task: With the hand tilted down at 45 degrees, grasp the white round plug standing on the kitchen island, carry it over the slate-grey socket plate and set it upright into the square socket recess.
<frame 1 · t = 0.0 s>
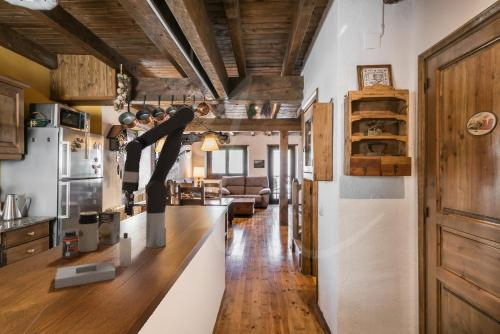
hand: (127, 214, 138), 17 cm above the kitchen island, tool pointing down, fingers open, 8 cm apart
travel mug: (87, 250, 137), on the kitchen island
plug: (125, 264, 117), on the kitchen island
supplement bottle: (70, 257, 127), on the kitchen island
socket: (86, 277, 103), on the kitchen island
coffee box: (109, 242, 152), on the kitchen island
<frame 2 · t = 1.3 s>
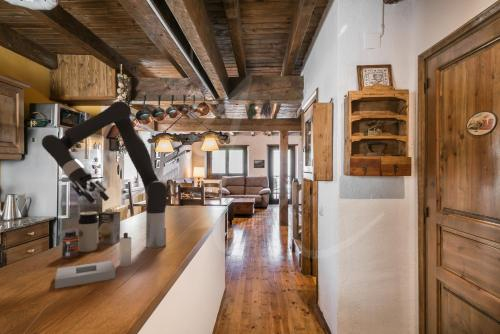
hand: (100, 200, 119), 26 cm above the kitchen island, tool tilted 45°, fingers open, 8 cm apart
nothing on the kitchen island moved.
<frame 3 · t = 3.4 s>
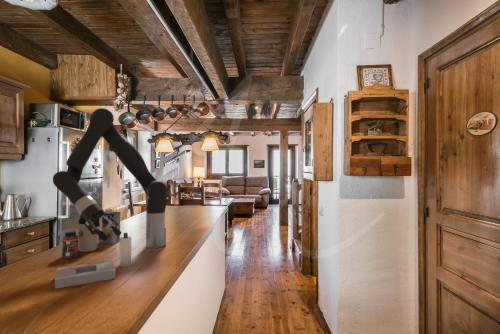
hand: (113, 237, 118), 11 cm above the kitchen island, tool tilted 45°, fingers open, 8 cm apart
nothing on the kitchen island moved.
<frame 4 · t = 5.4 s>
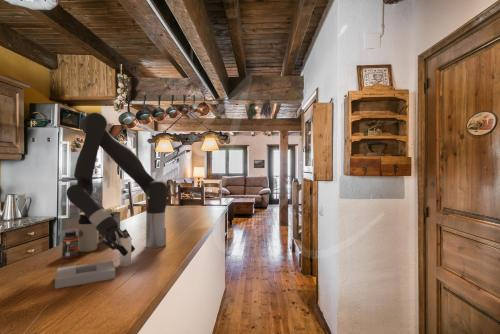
hand: (129, 252, 117), 5 cm above the kitchen island, tool tilted 45°, fingers closed on plug, 4 cm apart
plug: (125, 264, 117), on the kitchen island, touching gripper
everything else where it was.
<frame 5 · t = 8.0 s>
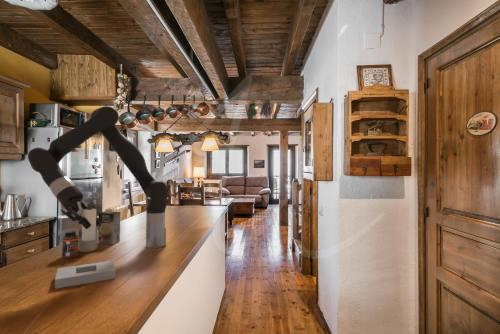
hand: (93, 225, 104), 19 cm above the kitchen island, tool tilted 45°, fingers closed on plug, 4 cm apart
plug: (88, 239, 104), point 14 cm above the kitchen island, touching gripper
everything else where it was.
when the fingers open (8 cm above the kitchen island, at t = 10.5 s): plug drops 3 cm, resting on socket.
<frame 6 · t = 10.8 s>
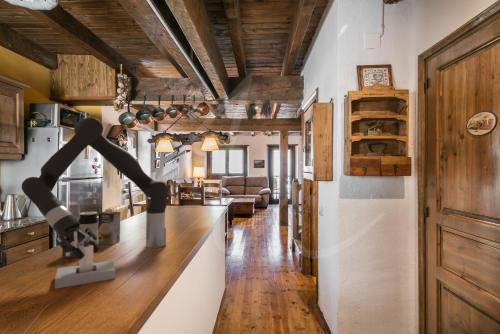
hand: (90, 254, 103), 8 cm above the kitchen island, tool tilted 45°, fingers open, 7 cm apart
plug: (86, 276, 103), resting on socket
everything else where it was.
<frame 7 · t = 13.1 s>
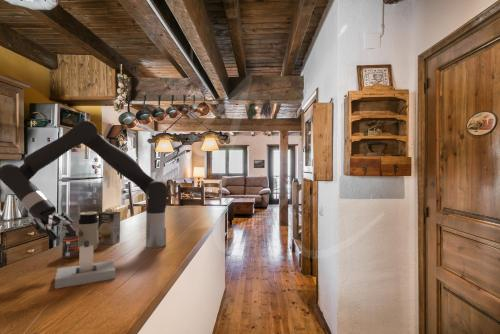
hand: (65, 236, 108), 14 cm above the kitchen island, tool tilted 45°, fingers open, 8 cm apart
nothing on the kitchen island moved.
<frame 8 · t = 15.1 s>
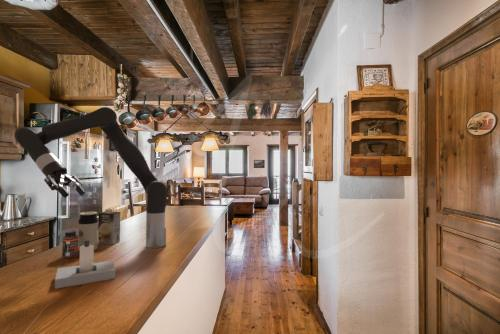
hand: (75, 195, 115), 29 cm above the kitchen island, tool tilted 45°, fingers open, 8 cm apart
nothing on the kitchen island moved.
at the end: plug 0.2 cm off-centre on the socket, point 0.2 cm above the socket's base; plug tilted 1°; the gripper is holding nothing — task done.
